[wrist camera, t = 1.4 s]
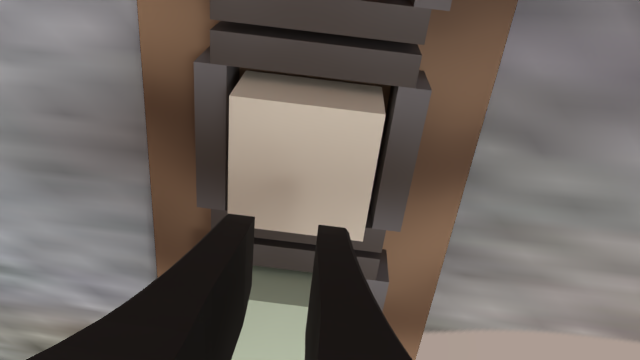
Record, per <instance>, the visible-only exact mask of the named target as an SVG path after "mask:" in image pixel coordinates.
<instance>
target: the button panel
mask: <svg viewBox="0 0 640 360" xmlns="http://www.w3.org/2000/svg"><path fill="white" fill-rule="evenodd" d="M517 2H518V0H137V7H138V21H139V34H140V48H141V61H142V75H143V88H144V102H145V115H146V129H147V142H148V156H149V169H150V183H151V196H152V210H153V223H154V237H155V250H156V264H157V277H159V276H161V275H162V274H163V273H164V272H166V271H167V270H168V269H169V268H170V267H172V266H173V265H174V264H175V263H176V262H177V261H178V260H180V259H181V258H182V257H183V256H184V255H185V254H186V253H187V252H188V251H190V250H191V249H192V248H193V247H194V246H195V245H196V244H197V243H198V242H199V241H200V240H201V239H202V238H203V237H204V236H205V235H206V234H207V233H208V232H209V231H210V230H211V229H212V228H213V227H214V226H215V225H216V224H217V223H218V222H219V221H220V220H221V219H222V218H223V217H224V216H226V215H227V214H228V146H229V95H230V94H231V92H232V91H233V89H234V88H235V86H236V85H237V83H238V82H239V80H240V79H241V77H242V76H243V74H244V73H245V71H254V72H263V73H271V74H279V75H287V76H296V77H304V78H312V79H321V80H329V81H337V82H345V83H354V84H362V85H370V86H379V87H382V92H383V99H384V106H385V113H386V116H385V121H384V127H383V132H382V138H381V143H380V149H379V154H378V160H377V166H376V171H375V177H374V182H373V188H372V193H371V199H370V204H369V210H368V215H367V221H366V227H365V232H364V238H363V242H362V241H353V240H351V242H352V246H353V249H354V252H355V255H356V257H357V260H358V262H359V265H360V267H361V270H362V272H363V274H364V277H365V279H366V281H367V283H368V285H369V287H370V289H371V291H372V293H373V296H374V297H375V299H376V301H377V303H378V305H379V307H380V309H381V310H382V312H383V314H384V316H385V318H386V319H387V321H388V323H389V324H390V326H391V328H392V329H393V331H394V333H395V334H396V336H397V337H398V339H399V341H400V342H401V343H402V345H403V346H404V348H405V349H406V351H407V352H408V354H409V355H410V357H411V358H412V359H413V360H415V359H416V356H417V352H418V349H419V345H420V342H421V338H422V335H423V331H424V328H425V324H426V321H427V317H428V314H429V310H430V307H431V303H432V300H433V296H434V293H435V289H436V286H437V282H438V279H439V275H440V272H441V268H442V265H443V261H444V258H445V254H446V251H447V247H448V244H449V240H450V237H451V233H452V230H453V226H454V223H455V219H456V216H457V212H458V209H459V205H460V202H461V198H462V195H463V191H464V188H465V184H466V181H467V177H468V174H469V170H470V167H471V163H472V160H473V156H474V153H475V149H476V146H477V142H478V139H479V135H480V132H481V128H482V125H483V121H484V118H485V114H486V111H487V107H488V104H489V100H490V97H491V93H492V90H493V86H494V83H495V79H496V76H497V72H498V69H499V65H500V62H501V58H502V55H503V51H504V48H505V44H506V41H507V37H508V34H509V30H510V27H511V23H512V20H513V16H514V13H515V9H516V6H517ZM316 240H317V236H313V235H304V234H296V233H288V232H280V231H272V230H264V229H255V228H254V249H253V266H261V267H269V268H278V269H286V270H294V271H302V272H310V273H313V265H314V257H315V248H316Z"/></svg>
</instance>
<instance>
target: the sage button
mask: <svg viewBox="0 0 640 360" xmlns="http://www.w3.org/2000/svg"><path fill="white" fill-rule="evenodd" d="M311 281H312V273H310V272H302V271H294V270H286V269H278V268H269V267H261V266H253V270H252V287H251V292H250V296H249V301H248V306H247V310H246V315H245V319H244V323H243V327H242V330H241V333H240V336H239V339H238V342H237V344H236V347H235V350H234V353H233V356H232V359H231V360H305V331H306V322H307V314H308V306H309V297H310V289H311Z"/></svg>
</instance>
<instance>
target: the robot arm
mask: <svg viewBox="0 0 640 360" xmlns="http://www.w3.org/2000/svg"><path fill="white" fill-rule="evenodd" d="M254 227H255V217H253V216H245V215H237V214H227V215H226V216H224V217H223V218H222V219H221V220H220V221H219V222H218V223H217V224H216V225H215V226H214V227H213V228H212V229H211V230H210V231H209V232H208V233H207V234H206V235H205V236H204V237H203V238H202V239H201V240H200V241H199V242H198V243H197V244H196V245H195V246H194V247H193V248H192V249H191V250H190V251H188V252H187V253H186V254H185V255H184V256H183V257H182V258H181V259H180V260H178V261H177V262H176V263H175V264H174V265H173V266H172V267H170V268H169V269H168V270H167V271H166V272H164V273H163V274H162V275H161V276H159V277H158V278H157V279H156V280H154V281H153V282H152V283H151V284H149V285H148V286H147V287H146V288H144V289H143V290H142V291H140V292H139V293H138V294H136V295H135V296H134V297H132V298H131V299H130V300H128V301H127V302H125V303H124V304H122V305H121V306H119V307H118V308H116V309H115V310H114V311H112V312H111V313H109V314H108V315H106V316H104V317H103V318H101V319H100V320H98V321H96V322H95V323H93V324H91V325H89V326H88V327H86V328H84V329H82V330H81V331H79V332H77V333H75V334H74V335H72V336H70V337H68V338H67V339H65V340H63V341H61V342H60V343H58V344H56V345H54V346H52V347H50V348H48V349H46V350H44V351H42V352H40V353H38V354H36V355H34V356H32V357H30V358H28V359H26V360H231V359H232V356H233V353H234V350H235V347H236V344H237V342H238V339H239V336H240V333H241V330H242V327H243V323H244V319H245V315H246V310H247V306H248V301H249V296H250V292H251V287H252V270H253V249H254ZM305 360H413V359H412V358H411V357H410V355H409V354H408V352H407V351H406V349H405V348H404V346H403V345H402V343H401V342H400V341H399V339H398V337H397V336H396V334H395V333H394V331H393V329H392V328H391V326H390V324H389V323H388V321H387V319H386V318H385V316H384V314H383V312H382V310H381V309H380V307H379V305H378V303H377V301H376V299H375V297H374V296H373V293H372V291H371V289H370V287H369V285H368V283H367V281H366V279H365V277H364V274H363V272H362V270H361V267H360V265H359V262H358V260H357V257H356V255H355V252H354V249H353V246H352V242H351V239H350V234H349V232H348V231H347V229H346V228H343V227H335V226H326V225H318V232H317V240H316V248H315V257H314V265H313V273H312V281H311V289H310V297H309V306H308V314H307V322H306V331H305Z"/></svg>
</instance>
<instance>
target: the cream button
mask: <svg viewBox="0 0 640 360" xmlns="http://www.w3.org/2000/svg"><path fill="white" fill-rule="evenodd" d="M385 116H386V113H385V106H384V99H383V92H382V87H379V86H370V85H362V84H354V83H345V82H337V81H329V80H321V79H312V78H304V77H296V76H287V75H279V74H271V73H263V72H254V71H245V73H244V74H243V76H242V77H241V79H240V80H239V82H238V83H237V85H236V86H235V88H234V89H233V91H232V92H231V94H230V95H229V146H228V214H237V215H245V216H253V217H255V227H254V228H255V229H264V230H272V231H280V232H288V233H296V234H304V235H313V236H317V232H318V225H326V226H335V227H343V228H346V229H347V231H348V232H349V234H350V239H351V240H353V241H362V242H363V238H364V232H365V227H366V221H367V215H368V210H369V204H370V199H371V193H372V188H373V182H374V177H375V171H376V166H377V160H378V154H379V149H380V143H381V138H382V132H383V127H384V121H385Z"/></svg>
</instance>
